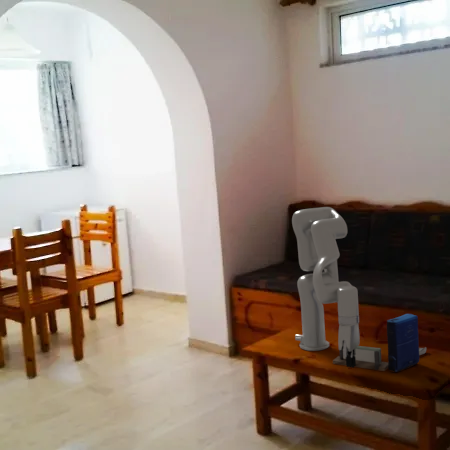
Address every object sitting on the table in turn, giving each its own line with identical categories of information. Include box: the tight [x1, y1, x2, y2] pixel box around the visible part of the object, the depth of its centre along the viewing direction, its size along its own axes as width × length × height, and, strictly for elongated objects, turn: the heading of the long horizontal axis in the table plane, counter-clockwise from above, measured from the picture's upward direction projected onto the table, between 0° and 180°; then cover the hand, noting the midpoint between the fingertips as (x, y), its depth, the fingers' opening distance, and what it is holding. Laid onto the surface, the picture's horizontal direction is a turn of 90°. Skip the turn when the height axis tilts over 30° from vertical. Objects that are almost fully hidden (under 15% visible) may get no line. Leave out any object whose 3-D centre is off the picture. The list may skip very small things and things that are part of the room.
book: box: [386, 313, 420, 373], centre depth 238 cm, size 14×5×20 cm, turn 126°
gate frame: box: [332, 349, 388, 372], centre depth 245 cm, size 21×6×8 cm, turn 57°
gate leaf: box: [343, 345, 382, 363], centre depth 245 cm, size 15×2×6 cm, turn 57°
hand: (351, 366), depth 237 cm, fingers closed
